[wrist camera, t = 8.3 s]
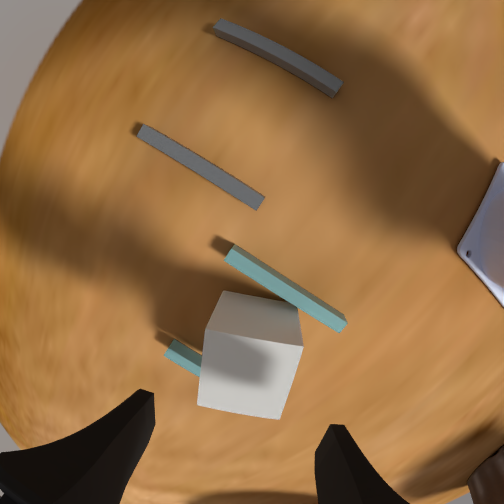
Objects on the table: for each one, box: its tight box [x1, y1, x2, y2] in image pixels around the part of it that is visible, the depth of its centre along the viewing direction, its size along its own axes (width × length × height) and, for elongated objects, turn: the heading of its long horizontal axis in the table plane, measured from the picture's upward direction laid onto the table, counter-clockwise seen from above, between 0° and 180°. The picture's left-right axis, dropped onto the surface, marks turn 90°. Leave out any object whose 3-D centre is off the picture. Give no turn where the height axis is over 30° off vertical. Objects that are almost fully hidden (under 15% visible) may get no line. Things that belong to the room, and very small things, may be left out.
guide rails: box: [137, 18, 348, 377], centre depth 16 cm, size 16×20×1 cm
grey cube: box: [197, 290, 304, 420], centre depth 16 cm, size 4×5×5 cm
